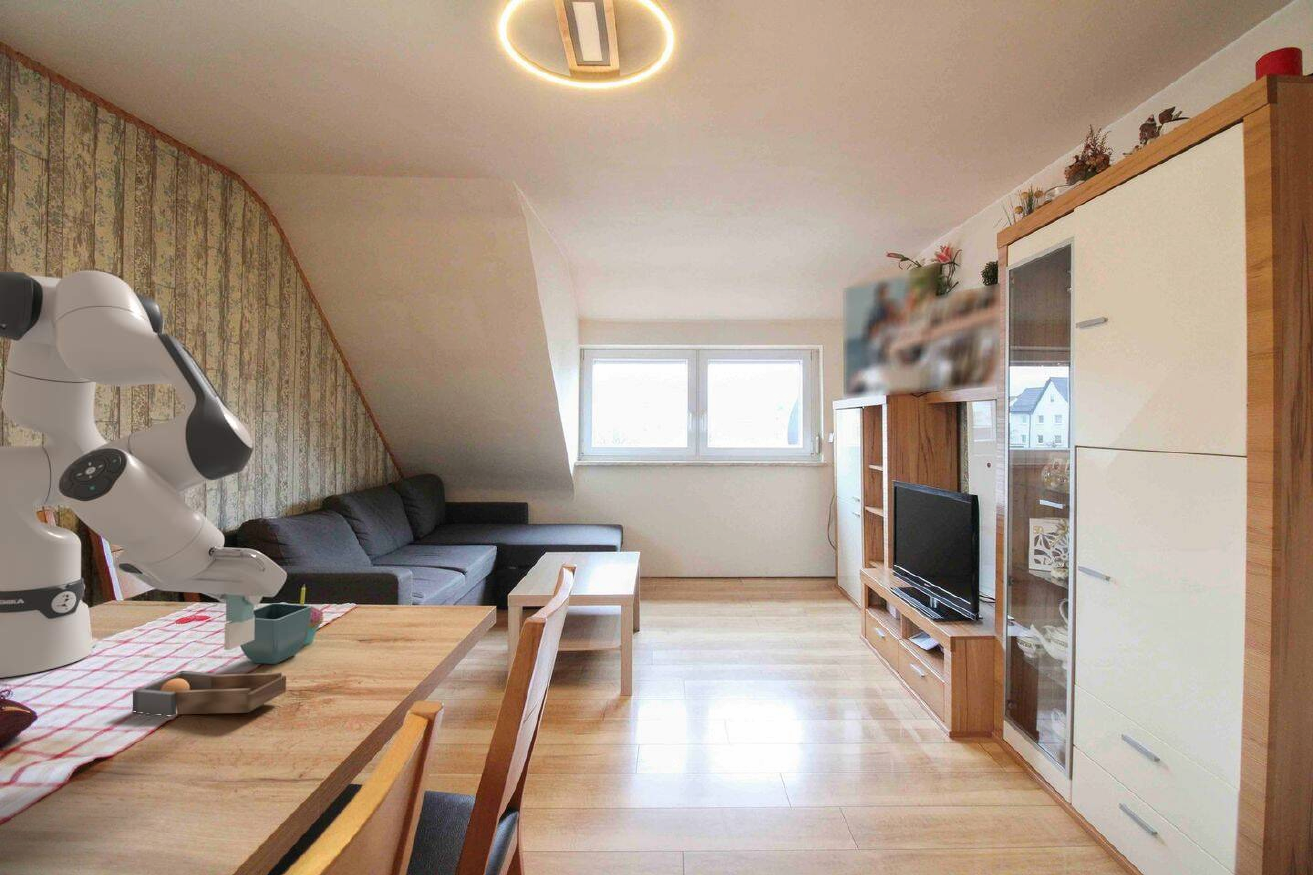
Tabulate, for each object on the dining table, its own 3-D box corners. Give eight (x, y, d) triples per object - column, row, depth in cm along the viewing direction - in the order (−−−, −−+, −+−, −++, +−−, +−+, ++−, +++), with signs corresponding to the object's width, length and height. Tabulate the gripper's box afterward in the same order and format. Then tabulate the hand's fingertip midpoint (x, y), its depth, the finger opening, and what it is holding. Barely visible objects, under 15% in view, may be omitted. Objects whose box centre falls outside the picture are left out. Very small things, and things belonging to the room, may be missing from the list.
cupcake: (331, 641, 116) (332, 581, 116) (285, 653, 109) (286, 590, 109) (310, 632, 121) (311, 575, 121) (264, 644, 114) (265, 583, 114)
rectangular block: (218, 649, 85) (219, 576, 85) (244, 638, 90) (244, 569, 90) (235, 650, 85) (235, 576, 85) (260, 639, 89) (260, 570, 89)
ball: (174, 707, 87) (154, 708, 88) (197, 696, 91) (177, 698, 91) (171, 683, 87) (151, 685, 88) (194, 673, 91) (174, 675, 91)
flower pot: (275, 670, 102) (276, 619, 102) (232, 666, 103) (232, 616, 103) (313, 652, 110) (313, 605, 110) (272, 649, 112) (273, 602, 112)
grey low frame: (132, 712, 86) (132, 691, 86) (182, 690, 93) (182, 670, 93) (170, 716, 85) (170, 694, 85) (217, 693, 92) (217, 673, 92)
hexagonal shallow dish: (175, 713, 85) (175, 683, 85) (214, 694, 92) (214, 666, 92) (250, 721, 83) (251, 690, 83) (285, 701, 90) (286, 672, 90)
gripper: (263, 531, 79) (315, 585, 89) (136, 526, 82) (200, 578, 92) (234, 572, 74) (292, 623, 84) (101, 564, 78) (172, 615, 87)
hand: (243, 600), depth 88 cm, fingers closed on rectangular block, 3 cm apart
